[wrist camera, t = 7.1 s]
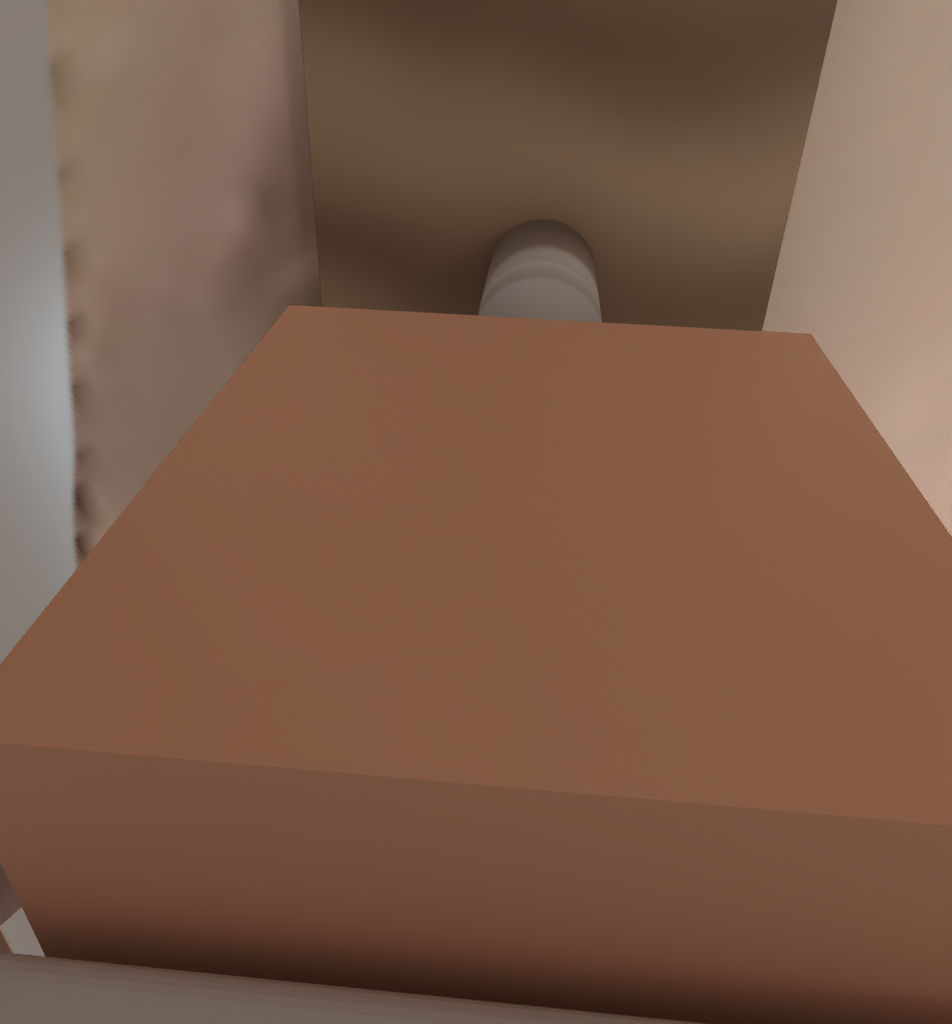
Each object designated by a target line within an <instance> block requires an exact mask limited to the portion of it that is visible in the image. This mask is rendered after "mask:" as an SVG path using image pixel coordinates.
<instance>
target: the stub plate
mask: <svg viewBox="0 0 952 1024" xmlns="http://www.w3.org/2000/svg"><path fill="white" fill-rule="evenodd" d="M836 4H837V0H299V11H300V24H301V38H302V51H303V64H304V77H305V90H306V103H307V116H308V130H309V143H310V156H311V169H312V182H313V195H314V208H315V222H316V235H317V248H318V261H319V274H320V287H321V300H322V307H334V308H352V309H370V310H388V311H406V312H424V313H442V314H460V315H478V316H496V317H514V318H532V319H549V320H567V321H585V322H603V323H621V324H639V325H657V326H675V327H693V328H711V329H729V330H747V331H762V327H763V323H764V318H765V314H766V310H767V305H768V301H769V296H770V292H771V288H772V283H773V279H774V275H775V270H776V266H777V261H778V257H779V253H780V248H781V244H782V240H783V235H784V231H785V227H786V222H787V218H788V213H789V209H790V205H791V200H792V196H793V192H794V187H795V183H796V178H797V174H798V170H799V165H800V161H801V157H802V152H803V148H804V143H805V139H806V135H807V130H808V126H809V122H810V117H811V113H812V108H813V104H814V100H815V95H816V91H817V87H818V82H819V78H820V73H821V69H822V65H823V60H824V56H825V52H826V47H827V43H828V39H829V34H830V30H831V25H832V21H833V17H834V12H835V8H836Z"/></svg>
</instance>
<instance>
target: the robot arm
mask: <svg viewBox="0 0 952 1024" xmlns="http://www.w3.org/2000/svg"><path fill="white" fill-rule="evenodd" d="M21 907H22V906H21V904H20V902H19V900H18V898H17V896H16V893H15V891H14V889H13V887H12V885H11V883H10V881H9V879H8V877H7V875H6V873H5V870H4V868H3V866H2V864H1V862H0V925H2V924H3V923H4V922H5V921H6V920H7V919H8V918H9V917H11V916H12V915H13V914H14V913H15V912H17V910H19V909H20V908H21ZM0 1024H708V1023H698V1022H688V1021H678V1020H668V1019H658V1018H648V1017H638V1016H628V1015H618V1014H608V1013H598V1012H588V1011H578V1010H568V1009H558V1008H548V1007H538V1006H528V1005H518V1004H508V1003H499V1002H489V1001H479V1000H469V999H459V998H449V997H439V996H429V995H419V994H409V993H399V992H389V991H379V990H369V989H360V988H350V987H340V986H330V985H320V984H310V983H300V982H290V981H280V980H270V979H260V978H251V977H241V976H231V975H221V974H211V973H201V972H191V971H181V970H171V969H162V968H152V967H142V966H132V965H122V964H112V963H102V962H92V961H82V960H73V959H63V958H53V957H43V956H33V955H23V954H15V953H14V952H13V950H12V948H11V946H10V944H9V942H8V940H7V938H6V936H5V935H4V933H3V931H2V929H1V927H0Z"/></svg>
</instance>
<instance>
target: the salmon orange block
mask: <svg viewBox="0 0 952 1024" xmlns="http://www.w3.org/2000/svg"><path fill="white" fill-rule="evenodd" d="M0 862H1V864H2V866H3V868H4V870H5V873H6V875H7V877H8V879H9V881H10V883H11V885H12V887H13V889H14V891H15V893H16V896H17V898H18V900H19V902H20V904H21V906H22V908H23V910H24V912H25V914H26V916H27V919H28V921H29V923H30V925H31V927H32V929H33V931H34V933H35V935H36V937H37V939H38V942H39V944H40V946H41V948H42V950H43V952H44V954H45V956H46V957H53V958H63V959H73V960H82V961H92V962H102V963H112V964H122V965H132V966H142V967H152V968H162V969H171V970H181V971H191V972H201V973H211V974H221V975H231V976H241V977H251V978H260V979H270V980H280V981H290V982H300V983H310V984H320V985H330V986H340V987H350V988H360V989H369V990H379V991H389V992H399V993H409V994H419V995H429V996H439V997H449V998H459V999H469V1000H479V1001H489V1002H499V1003H508V1004H518V1005H528V1006H538V1007H548V1008H558V1009H568V1010H578V1011H588V1012H598V1013H608V1014H618V1015H628V1016H638V1017H648V1018H658V1019H668V1020H678V1021H688V1022H698V1023H708V1024H952V537H951V535H950V534H949V533H948V531H947V530H946V528H945V527H944V525H943V524H942V523H941V521H940V520H939V518H938V517H937V515H936V514H935V512H934V511H933V510H932V508H931V507H930V505H929V504H928V502H927V501H926V500H925V498H924V497H923V495H922V494H921V492H920V491H919V489H918V488H917V487H916V485H915V484H914V482H913V481H912V479H911V478H910V476H909V475H908V474H907V472H906V471H905V469H904V468H903V466H902V465H901V464H900V462H899V461H898V459H897V458H896V456H895V455H894V453H893V452H892V451H891V449H890V448H889V446H888V445H887V443H886V442H885V441H884V439H883V438H882V436H881V435H880V433H879V432H878V430H877V429H876V428H875V426H874V425H873V423H872V422H871V420H870V419H869V417H868V416H867V415H866V413H865V412H864V410H863V409H862V407H861V406H860V405H859V403H858V402H857V400H856V399H855V397H854V396H853V394H852V393H851V392H850V390H849V389H848V387H847V386H846V384H845V383H844V382H843V380H842V379H841V377H840V376H839V374H838V373H837V371H836V370H835V369H834V367H833V366H832V364H831V363H830V361H829V360H828V358H827V357H826V356H825V354H824V353H823V351H822V350H821V348H820V347H819V346H818V344H817V343H816V341H815V340H814V338H813V337H812V335H811V334H801V333H783V332H765V331H747V330H729V329H711V328H693V327H675V326H657V325H639V324H621V323H603V322H585V321H567V320H549V319H532V318H514V317H496V316H478V315H460V314H442V313H424V312H406V311H388V310H370V309H352V308H334V307H316V306H298V305H289V306H288V307H287V309H286V310H285V311H284V312H283V314H282V315H281V316H280V317H279V319H278V320H277V321H276V322H275V324H274V325H273V326H272V327H271V329H270V330H269V331H268V332H267V334H266V335H265V336H264V337H263V339H262V340H261V341H260V342H259V343H258V345H257V346H256V347H255V348H254V350H253V351H252V352H251V353H250V355H249V356H248V357H247V358H246V360H245V361H244V362H243V363H242V365H241V366H240V367H239V368H238V370H237V371H236V372H235V373H234V375H233V376H232V377H231V378H230V380H229V381H228V382H227V383H226V385H225V386H224V387H223V388H222V389H221V391H220V392H219V393H218V394H217V396H216V397H215V398H214V399H213V401H212V402H211V403H210V404H209V406H208V407H207V408H206V409H205V411H204V412H203V413H202V414H201V416H200V417H199V418H198V419H197V421H196V422H195V423H194V424H193V426H192V427H191V428H190V429H189V431H188V432H187V433H186V434H185V435H184V437H183V438H182V439H181V440H180V442H179V443H178V444H177V445H176V447H175V448H174V449H173V450H172V452H171V453H170V454H169V455H168V457H167V458H166V459H165V460H164V462H163V463H162V464H161V465H160V467H159V468H158V469H157V470H156V472H155V473H154V474H153V475H152V477H151V478H150V479H149V480H148V481H147V483H146V484H145V485H144V486H143V488H142V489H141V490H140V491H139V493H138V494H137V495H136V496H135V498H134V499H133V500H132V501H131V503H130V504H129V505H128V506H127V508H126V509H125V510H124V511H123V513H122V514H121V515H120V516H119V518H118V519H117V520H116V521H115V523H114V524H113V525H112V526H111V527H110V529H109V530H108V531H107V532H106V534H105V535H104V536H103V537H102V539H101V540H100V541H99V542H98V544H97V545H96V546H95V547H94V549H93V550H92V551H91V552H90V554H89V555H88V556H87V557H86V559H85V560H84V561H83V562H82V564H81V565H80V566H79V567H78V569H77V570H76V571H75V572H74V573H73V575H72V576H71V577H70V578H69V580H68V581H67V582H66V583H65V585H64V586H63V587H62V588H61V590H60V591H59V592H58V594H57V595H56V596H55V597H54V598H53V600H52V601H51V602H50V603H49V605H48V606H47V607H46V608H45V610H44V611H43V612H42V613H41V615H40V616H39V617H38V618H37V620H36V621H35V622H34V623H33V625H32V626H31V627H30V629H28V631H27V632H26V633H25V635H24V636H23V637H22V638H21V640H20V641H19V642H18V643H17V644H16V646H15V647H14V648H13V649H12V651H11V652H10V653H9V654H8V656H7V657H6V658H5V659H4V661H3V662H2V663H1V664H0Z"/></svg>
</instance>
